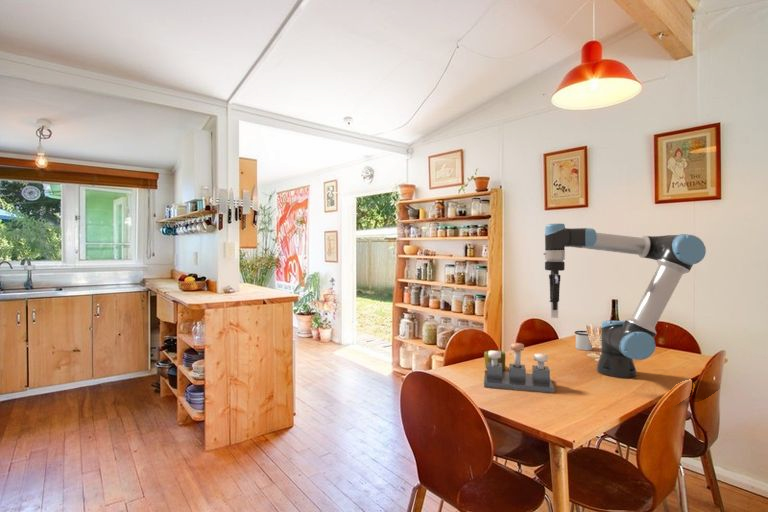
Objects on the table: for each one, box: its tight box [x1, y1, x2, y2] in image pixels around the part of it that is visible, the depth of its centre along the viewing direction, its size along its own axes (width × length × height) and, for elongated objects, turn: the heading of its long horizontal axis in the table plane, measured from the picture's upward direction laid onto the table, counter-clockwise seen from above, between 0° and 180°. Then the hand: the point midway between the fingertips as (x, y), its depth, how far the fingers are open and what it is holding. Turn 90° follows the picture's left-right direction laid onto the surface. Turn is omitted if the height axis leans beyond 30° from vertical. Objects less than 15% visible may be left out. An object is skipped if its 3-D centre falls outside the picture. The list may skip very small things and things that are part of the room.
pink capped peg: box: [510, 342, 525, 368], centre depth 165 cm, size 5×5×10 cm
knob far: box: [488, 350, 501, 366], centre depth 167 cm, size 5×5×10 cm
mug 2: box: [574, 330, 593, 352], centre depth 221 cm, size 12×10×9 cm
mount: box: [483, 362, 555, 394], centre depth 165 cm, size 26×16×7 cm, turn 75°
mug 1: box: [483, 349, 506, 371], centre depth 185 cm, size 12×10×10 cm
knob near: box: [533, 353, 549, 369], centre depth 163 cm, size 5×5×10 cm
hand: (554, 317), depth 168 cm, fingers closed
